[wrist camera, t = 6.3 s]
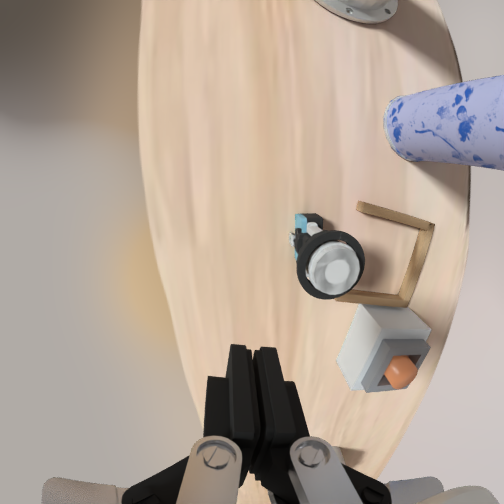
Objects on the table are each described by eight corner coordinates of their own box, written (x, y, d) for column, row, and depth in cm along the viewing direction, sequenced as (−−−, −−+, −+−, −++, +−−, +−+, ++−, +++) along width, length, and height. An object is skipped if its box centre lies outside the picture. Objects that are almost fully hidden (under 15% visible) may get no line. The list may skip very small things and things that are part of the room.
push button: (325, 270, 30) (363, 316, 20) (277, 273, 30) (298, 324, 20) (328, 209, 28) (374, 234, 18) (277, 210, 28) (302, 236, 18)
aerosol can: (437, 161, 27) (578, 187, 8) (387, 162, 27) (549, 188, 8) (429, 99, 24) (566, 84, 5) (378, 93, 24) (529, 52, 5)
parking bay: (358, 200, 28) (364, 202, 26) (427, 221, 29) (434, 224, 28) (331, 295, 31) (336, 301, 30) (400, 302, 32) (406, 307, 31)
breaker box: (359, 302, 32) (389, 337, 24) (407, 306, 33) (439, 337, 25) (335, 361, 34) (355, 401, 27) (382, 361, 35) (405, 396, 28)
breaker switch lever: (369, 325, 32) (400, 366, 24) (389, 326, 33) (422, 365, 24) (359, 347, 33) (386, 390, 25) (380, 347, 34) (408, 387, 25)
